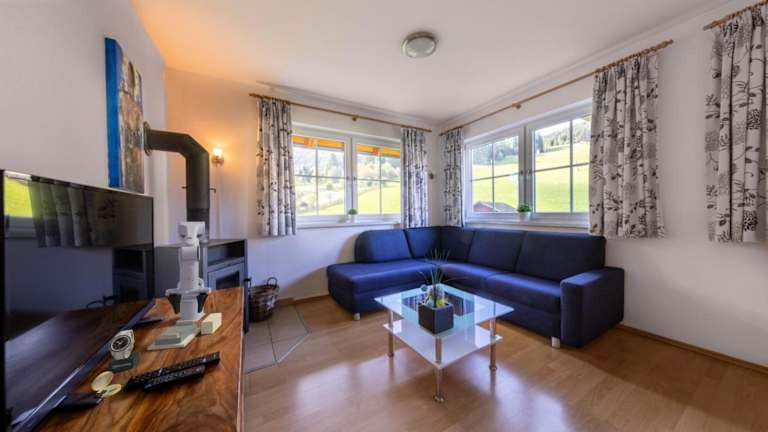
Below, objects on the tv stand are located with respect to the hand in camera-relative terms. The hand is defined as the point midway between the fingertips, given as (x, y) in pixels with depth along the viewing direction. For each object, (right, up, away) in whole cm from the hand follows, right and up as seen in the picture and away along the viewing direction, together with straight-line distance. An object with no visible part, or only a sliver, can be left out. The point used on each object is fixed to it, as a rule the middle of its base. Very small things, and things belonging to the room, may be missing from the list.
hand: (188, 312), depth 99 cm
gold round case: (+1, -10, -30) cm, 32 cm away
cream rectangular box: (+4, -10, +8) cm, 13 cm away
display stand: (-4, -10, -1) cm, 10 cm away
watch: (-5, -10, -19) cm, 22 cm away
